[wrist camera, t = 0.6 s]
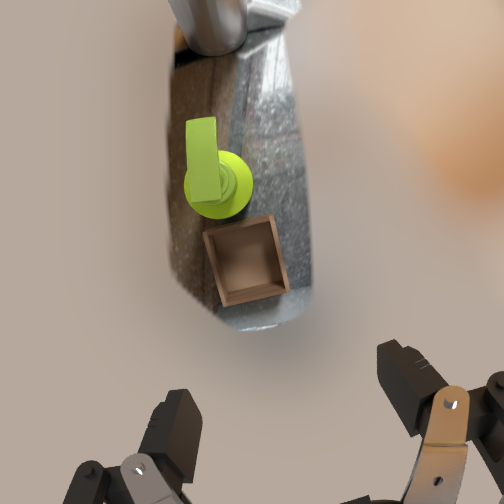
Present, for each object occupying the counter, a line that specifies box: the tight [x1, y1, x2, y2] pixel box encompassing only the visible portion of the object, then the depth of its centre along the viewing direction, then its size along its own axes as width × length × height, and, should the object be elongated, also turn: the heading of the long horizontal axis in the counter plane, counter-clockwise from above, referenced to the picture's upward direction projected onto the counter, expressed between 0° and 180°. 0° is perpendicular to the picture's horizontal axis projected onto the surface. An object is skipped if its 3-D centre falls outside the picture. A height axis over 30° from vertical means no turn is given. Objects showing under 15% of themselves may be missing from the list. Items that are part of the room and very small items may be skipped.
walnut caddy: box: [202, 213, 290, 307], centre depth 35 cm, size 9×8×5 cm
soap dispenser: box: [184, 117, 253, 219], centre depth 25 cm, size 6×7×20 cm
